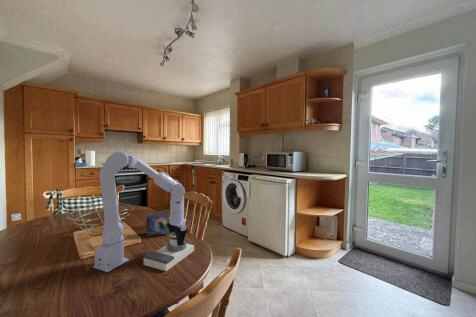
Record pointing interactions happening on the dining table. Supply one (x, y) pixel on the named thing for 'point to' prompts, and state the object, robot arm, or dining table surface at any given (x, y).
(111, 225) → the robot arm
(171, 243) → the lens
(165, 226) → the small box
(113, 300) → the dining table surface
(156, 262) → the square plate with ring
